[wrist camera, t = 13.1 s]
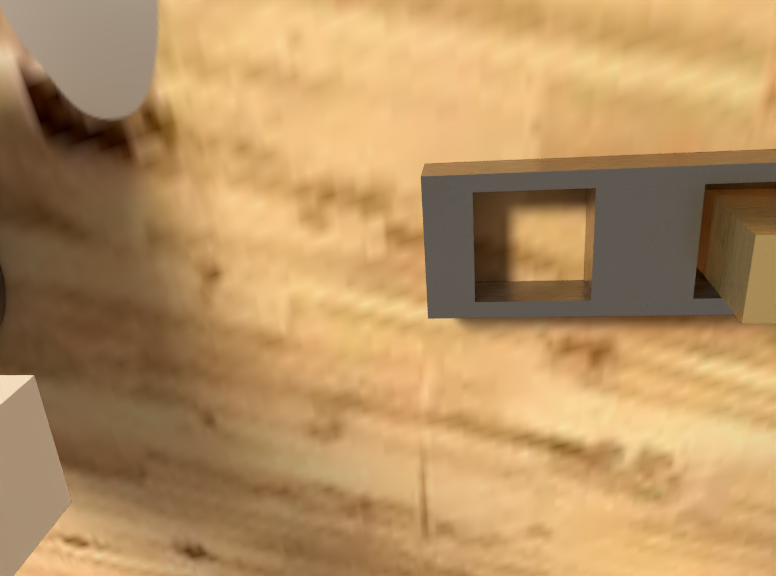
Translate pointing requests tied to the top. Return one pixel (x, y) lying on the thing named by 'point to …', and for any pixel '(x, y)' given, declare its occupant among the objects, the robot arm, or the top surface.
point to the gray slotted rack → (587, 233)
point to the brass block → (741, 250)
